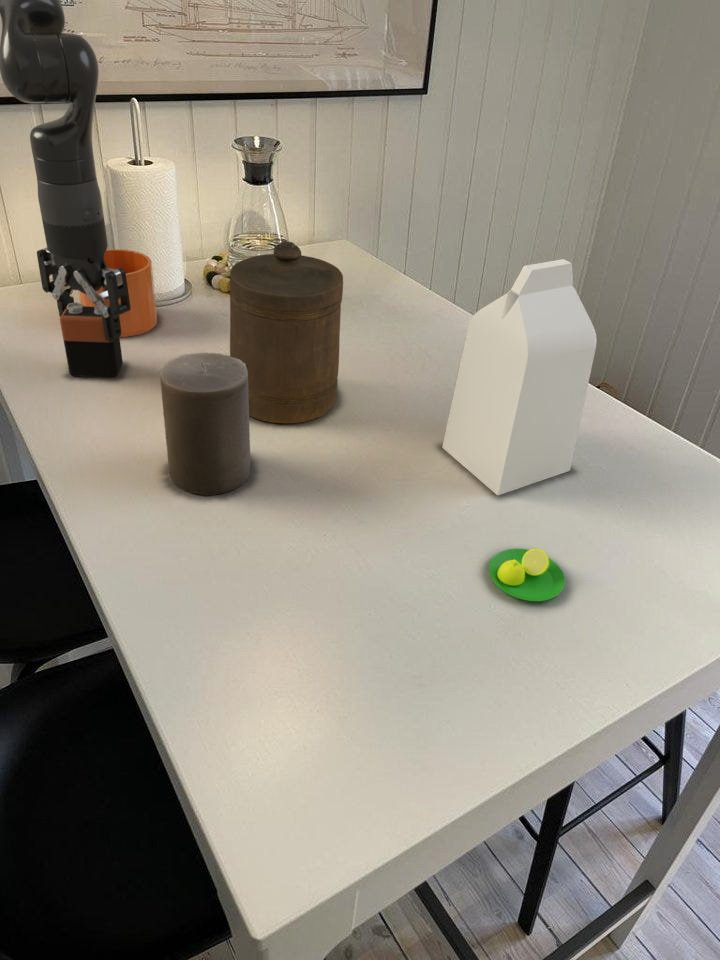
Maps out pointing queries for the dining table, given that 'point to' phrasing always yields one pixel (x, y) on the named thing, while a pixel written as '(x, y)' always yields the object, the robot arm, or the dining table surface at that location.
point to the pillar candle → (206, 422)
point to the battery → (89, 343)
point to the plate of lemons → (527, 574)
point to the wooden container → (287, 333)
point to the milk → (523, 381)
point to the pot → (132, 291)
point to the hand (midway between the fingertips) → (91, 331)
